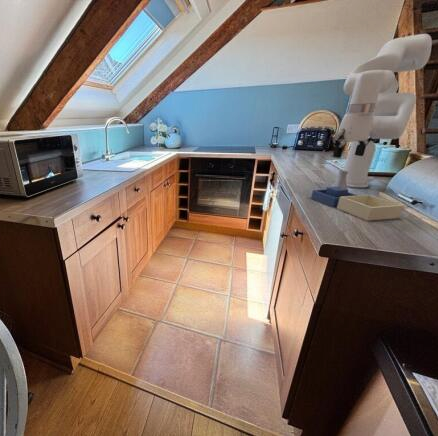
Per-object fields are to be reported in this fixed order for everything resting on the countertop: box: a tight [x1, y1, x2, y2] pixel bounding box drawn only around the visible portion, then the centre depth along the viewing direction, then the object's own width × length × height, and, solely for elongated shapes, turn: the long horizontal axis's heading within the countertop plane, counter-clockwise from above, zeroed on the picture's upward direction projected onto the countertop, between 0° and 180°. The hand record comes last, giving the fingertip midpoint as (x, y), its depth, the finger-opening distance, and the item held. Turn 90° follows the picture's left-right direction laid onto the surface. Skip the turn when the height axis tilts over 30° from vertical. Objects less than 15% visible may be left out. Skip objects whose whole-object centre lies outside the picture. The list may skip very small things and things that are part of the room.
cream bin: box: [336, 194, 405, 221], centre depth 86 cm, size 12×12×5 cm
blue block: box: [325, 186, 349, 198], centre depth 97 cm, size 5×5×5 cm
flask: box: [330, 169, 348, 189], centre depth 107 cm, size 7×7×10 cm
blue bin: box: [310, 188, 359, 208], centre depth 98 cm, size 11×11×4 cm
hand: (347, 156), depth 97 cm, fingers open, 9 cm apart
